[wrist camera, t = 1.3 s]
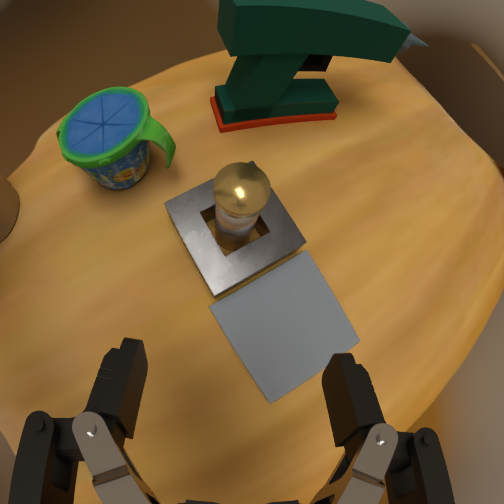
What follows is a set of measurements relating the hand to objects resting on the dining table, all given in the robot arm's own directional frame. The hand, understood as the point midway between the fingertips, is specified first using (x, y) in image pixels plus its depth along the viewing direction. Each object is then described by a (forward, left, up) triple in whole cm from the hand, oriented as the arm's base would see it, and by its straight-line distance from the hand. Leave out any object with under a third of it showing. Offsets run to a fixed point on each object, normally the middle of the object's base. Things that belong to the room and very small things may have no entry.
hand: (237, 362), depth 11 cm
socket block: (-10, +7, -19) cm, 23 cm away
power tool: (-23, +29, -20) cm, 41 cm away
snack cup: (-25, -1, -20) cm, 32 cm away
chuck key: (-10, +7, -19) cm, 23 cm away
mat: (+3, +7, -19) cm, 21 cm away
